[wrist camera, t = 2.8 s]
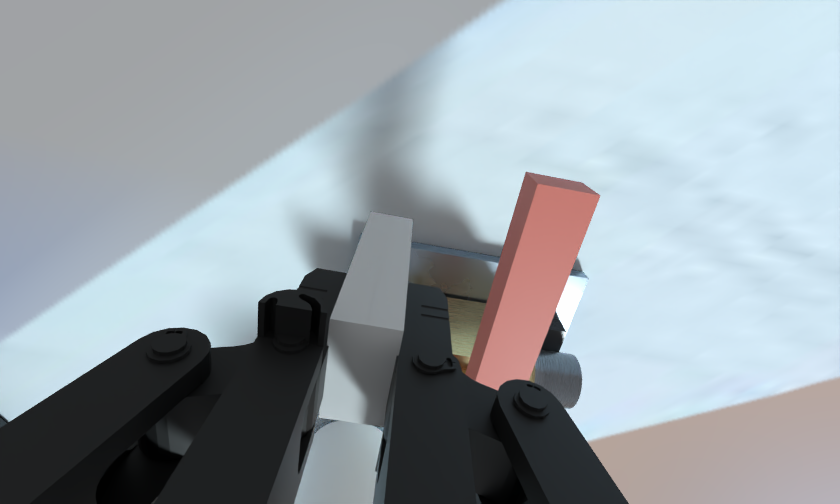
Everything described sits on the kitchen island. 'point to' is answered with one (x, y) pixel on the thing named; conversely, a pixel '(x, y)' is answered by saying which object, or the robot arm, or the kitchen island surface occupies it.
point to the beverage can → (341, 465)
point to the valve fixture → (467, 296)
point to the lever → (530, 277)
